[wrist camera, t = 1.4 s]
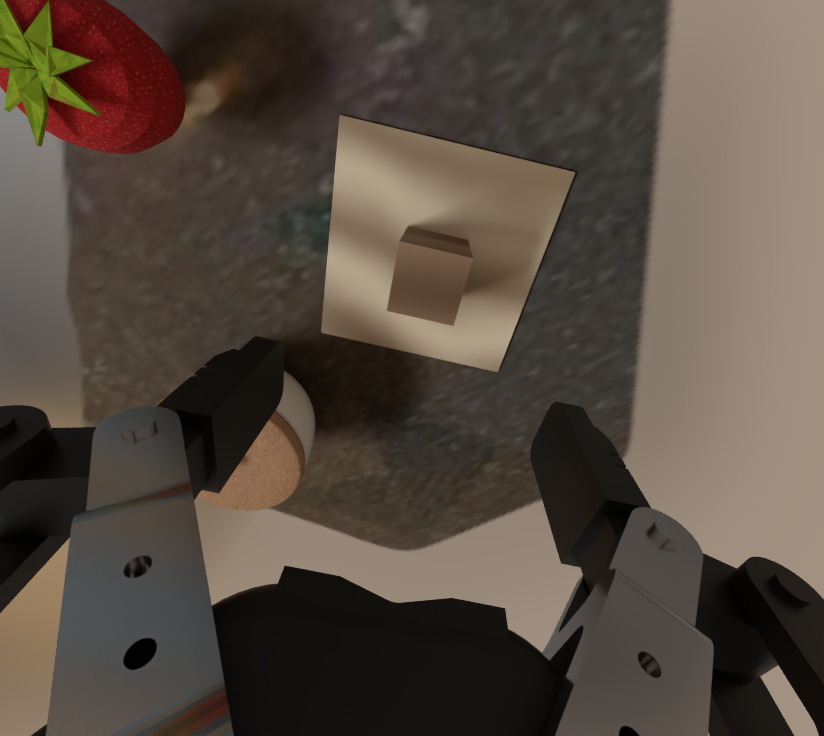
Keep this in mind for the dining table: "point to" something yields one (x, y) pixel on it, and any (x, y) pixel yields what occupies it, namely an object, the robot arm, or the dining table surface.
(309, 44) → the dining table surface
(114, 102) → the strawberry
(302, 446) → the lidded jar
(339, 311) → the lid
